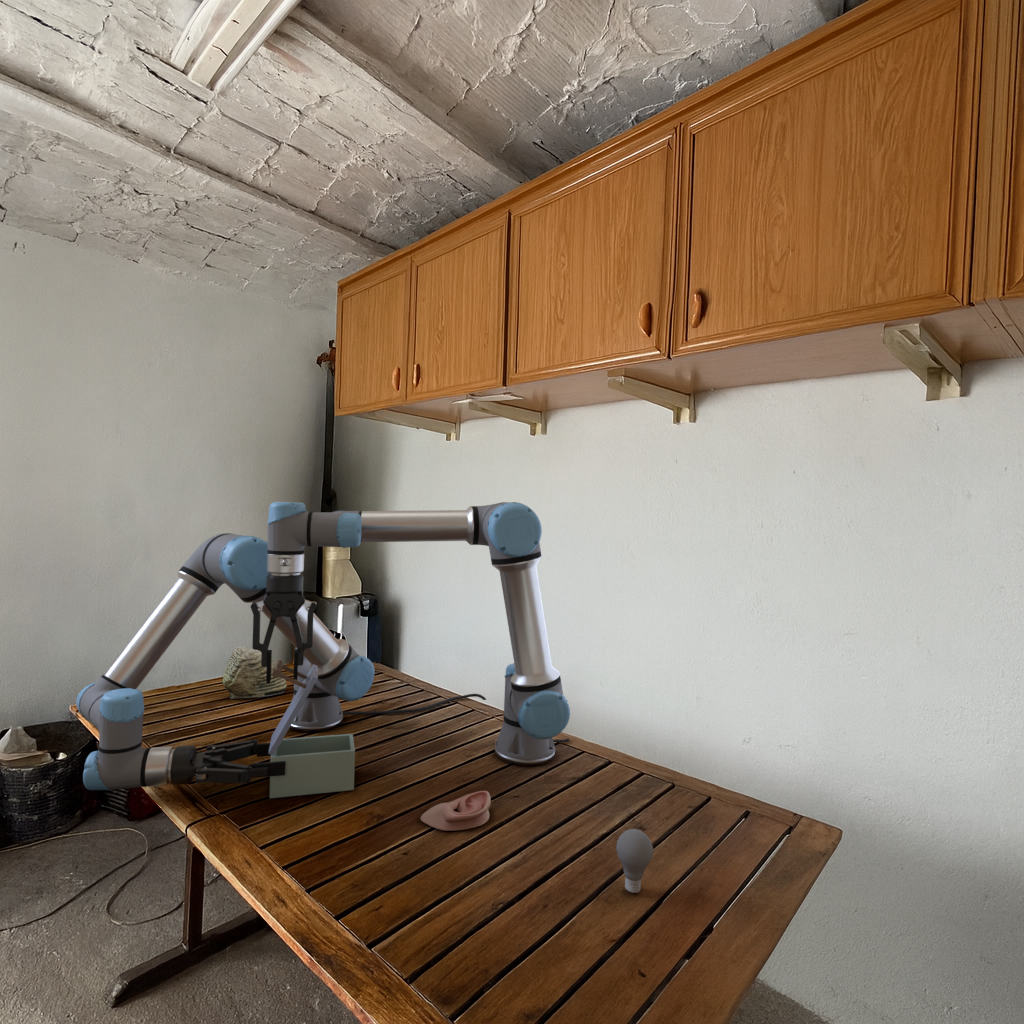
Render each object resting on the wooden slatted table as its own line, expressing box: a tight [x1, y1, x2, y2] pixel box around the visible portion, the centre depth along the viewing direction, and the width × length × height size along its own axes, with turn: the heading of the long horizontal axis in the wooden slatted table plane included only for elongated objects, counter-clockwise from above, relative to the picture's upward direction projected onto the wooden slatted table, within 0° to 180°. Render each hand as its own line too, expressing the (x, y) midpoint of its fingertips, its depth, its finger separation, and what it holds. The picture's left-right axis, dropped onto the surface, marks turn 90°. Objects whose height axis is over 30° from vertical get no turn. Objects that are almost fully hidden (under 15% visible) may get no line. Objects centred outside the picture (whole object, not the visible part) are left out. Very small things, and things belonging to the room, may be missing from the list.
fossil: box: [222, 646, 288, 699], centre depth 198 cm, size 9×18×15 cm, turn 132°
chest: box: [269, 733, 356, 799], centre depth 139 cm, size 17×10×9 cm, turn 107°
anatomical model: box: [419, 790, 492, 832], centre depth 127 cm, size 13×4×12 cm
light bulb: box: [615, 828, 654, 894], centre depth 106 cm, size 6×6×10 cm
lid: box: [268, 659, 318, 756], centre depth 137 cm, size 18×10×9 cm
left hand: (286, 757), depth 138 cm, fingers closed on chest, 10 cm apart
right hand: (282, 680), depth 137 cm, fingers open, 5 cm apart
